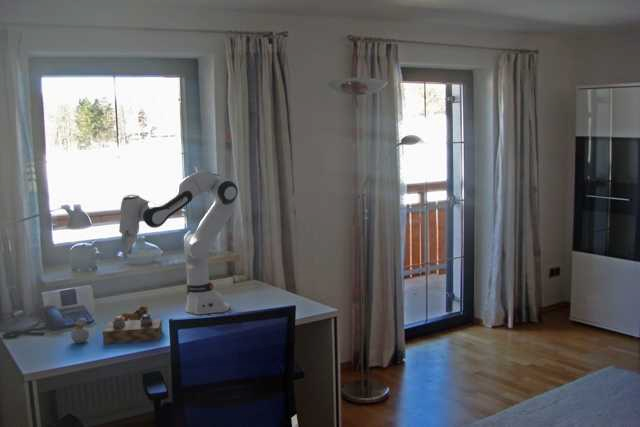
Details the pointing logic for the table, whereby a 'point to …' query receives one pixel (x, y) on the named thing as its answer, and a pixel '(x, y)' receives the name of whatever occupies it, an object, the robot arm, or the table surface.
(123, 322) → the grey rounded cylinder
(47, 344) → the table surface
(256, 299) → the table surface
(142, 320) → the grey button
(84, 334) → the perfume bottle
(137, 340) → the brown wooden block
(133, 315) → the lion figurine
